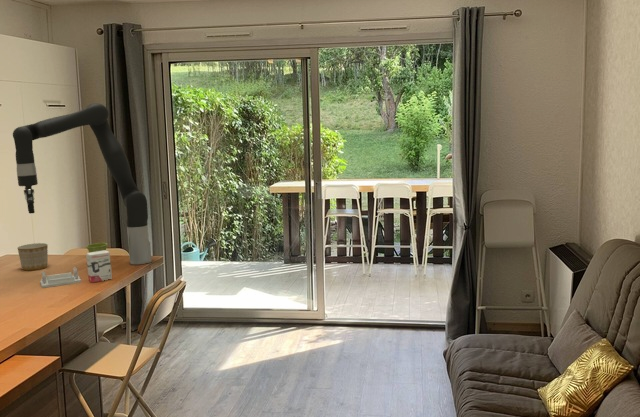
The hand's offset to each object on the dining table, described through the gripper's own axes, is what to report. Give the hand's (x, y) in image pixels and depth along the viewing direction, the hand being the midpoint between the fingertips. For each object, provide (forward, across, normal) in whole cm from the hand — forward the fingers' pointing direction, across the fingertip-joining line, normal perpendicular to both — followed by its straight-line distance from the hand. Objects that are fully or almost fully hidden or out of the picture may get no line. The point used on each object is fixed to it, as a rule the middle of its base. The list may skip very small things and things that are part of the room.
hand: (31, 212), depth 278 cm
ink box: (+29, -23, -22) cm, 43 cm away
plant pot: (+29, +13, -26) cm, 41 cm away
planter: (+29, +21, +1) cm, 36 cm away
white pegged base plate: (+28, -17, -8) cm, 34 cm away
